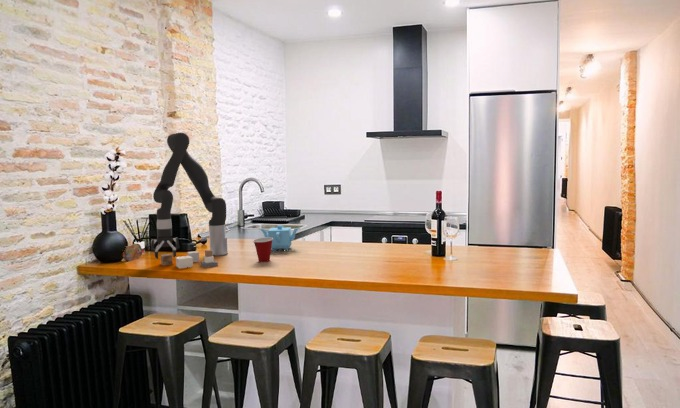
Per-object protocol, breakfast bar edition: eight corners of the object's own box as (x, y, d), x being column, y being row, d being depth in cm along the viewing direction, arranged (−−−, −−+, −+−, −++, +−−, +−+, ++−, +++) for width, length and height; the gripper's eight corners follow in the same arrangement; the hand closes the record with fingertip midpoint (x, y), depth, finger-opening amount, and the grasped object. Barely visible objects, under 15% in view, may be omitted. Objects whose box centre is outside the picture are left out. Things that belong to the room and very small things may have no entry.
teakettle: (277, 253, 293) (276, 228, 292) (258, 250, 306) (257, 225, 305) (302, 249, 306) (301, 224, 305) (283, 245, 320) (282, 222, 318)
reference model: (214, 263, 268) (213, 248, 268) (217, 266, 262) (217, 250, 262) (200, 265, 265) (200, 250, 264) (204, 267, 259) (203, 252, 258)
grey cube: (197, 260, 281) (196, 251, 280) (199, 261, 276) (198, 252, 276) (187, 261, 278) (187, 252, 278) (189, 262, 274) (189, 253, 274)
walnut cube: (170, 263, 274) (170, 253, 274) (172, 264, 270) (172, 255, 269) (161, 264, 272) (160, 254, 271) (162, 265, 267) (162, 256, 267)
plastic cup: (250, 260, 274) (249, 238, 273) (267, 258, 280) (266, 236, 279) (259, 263, 265) (258, 241, 264) (277, 260, 271) (276, 238, 270)
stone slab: (126, 262, 280) (125, 247, 279) (121, 262, 281) (120, 246, 280) (142, 256, 295) (141, 242, 294) (137, 256, 295) (136, 242, 295)
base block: (189, 264, 268) (189, 255, 268) (193, 267, 262) (192, 257, 261) (176, 266, 265) (175, 257, 264) (179, 268, 258) (178, 259, 258)
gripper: (176, 226, 276) (178, 255, 277) (149, 227, 269) (150, 258, 270) (179, 227, 269) (180, 257, 270) (151, 229, 262) (152, 260, 264)
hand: (165, 257), depth 270 cm, fingers open, 8 cm apart
